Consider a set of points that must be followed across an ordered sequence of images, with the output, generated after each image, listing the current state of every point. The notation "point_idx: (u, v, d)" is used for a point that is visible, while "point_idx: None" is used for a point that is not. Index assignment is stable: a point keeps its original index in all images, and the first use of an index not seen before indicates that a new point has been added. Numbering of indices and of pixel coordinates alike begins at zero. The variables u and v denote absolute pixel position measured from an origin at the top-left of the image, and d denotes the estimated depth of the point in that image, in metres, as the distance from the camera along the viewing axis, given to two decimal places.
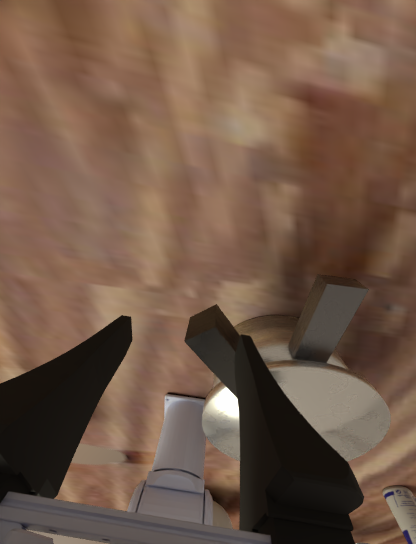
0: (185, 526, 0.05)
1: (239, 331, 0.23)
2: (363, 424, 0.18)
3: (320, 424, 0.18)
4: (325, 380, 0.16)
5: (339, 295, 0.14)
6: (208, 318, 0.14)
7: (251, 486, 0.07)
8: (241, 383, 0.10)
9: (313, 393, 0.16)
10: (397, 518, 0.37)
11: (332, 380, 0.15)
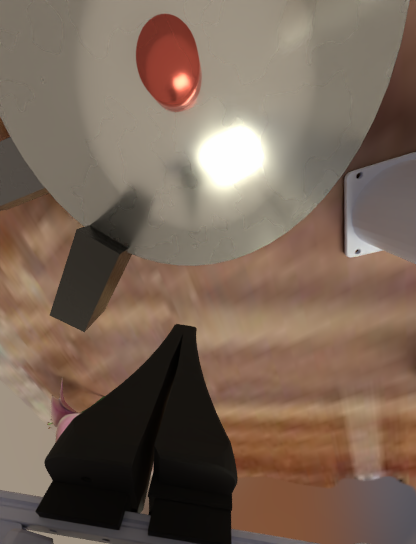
0: None
1: None
2: None
3: (112, 18, 0.08)
4: (25, 132, 0.10)
5: None
6: None
7: None
8: None
9: (58, 124, 0.09)
10: None
11: (16, 120, 0.09)
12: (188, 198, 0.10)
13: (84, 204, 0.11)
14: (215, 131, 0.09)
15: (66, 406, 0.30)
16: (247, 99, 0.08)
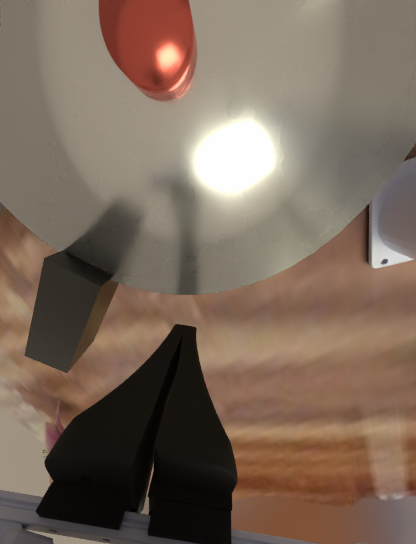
0: None
1: None
2: None
3: None
4: None
5: None
6: None
7: None
8: None
9: (11, 125, 0.07)
10: None
11: None
12: (185, 214, 0.08)
13: (55, 225, 0.09)
14: (218, 125, 0.07)
15: None
16: (261, 78, 0.06)
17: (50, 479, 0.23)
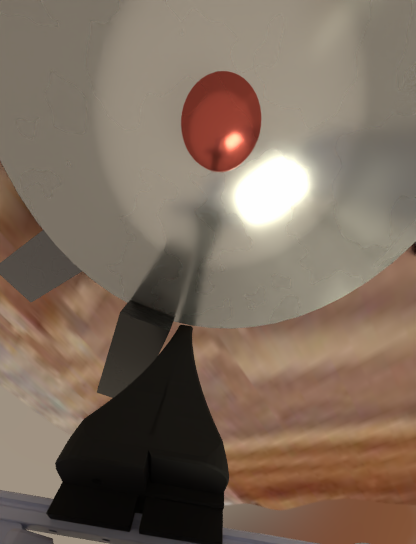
0: None
1: None
2: None
3: (142, 83, 0.06)
4: (54, 218, 0.09)
5: (23, 284, 0.13)
6: None
7: None
8: None
9: (89, 205, 0.08)
10: None
11: (43, 208, 0.08)
12: (242, 260, 0.09)
13: (124, 280, 0.10)
14: (274, 185, 0.07)
15: None
16: (315, 144, 0.07)
17: None
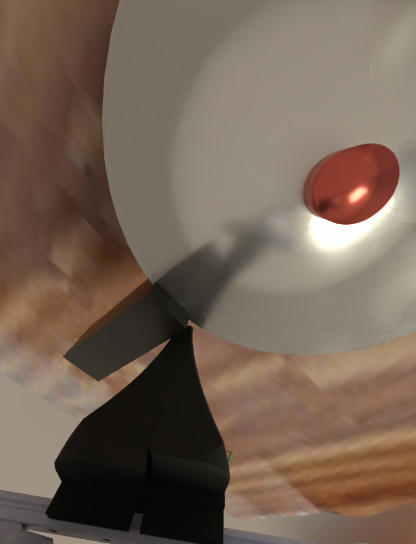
0: None
1: None
2: None
3: (304, 103, 0.06)
4: (127, 166, 0.07)
5: None
6: None
7: None
8: None
9: (176, 176, 0.07)
10: None
11: (122, 150, 0.07)
12: (282, 293, 0.09)
13: (162, 261, 0.09)
14: (347, 249, 0.08)
15: None
16: (394, 235, 0.08)
17: None
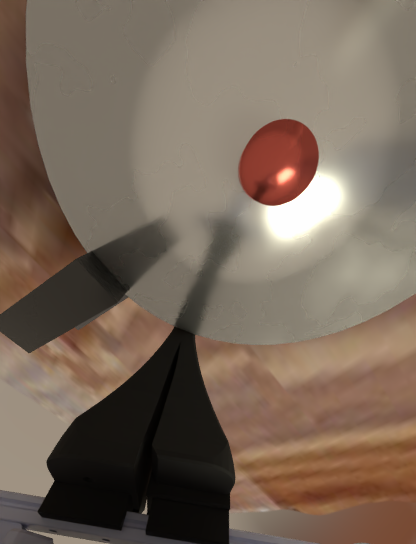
0: None
1: None
2: None
3: (237, 73, 0.06)
4: (56, 118, 0.07)
5: None
6: None
7: None
8: None
9: (108, 136, 0.07)
10: None
11: (50, 98, 0.07)
12: (220, 277, 0.09)
13: (97, 229, 0.09)
14: (281, 236, 0.08)
15: None
16: (326, 226, 0.08)
17: None
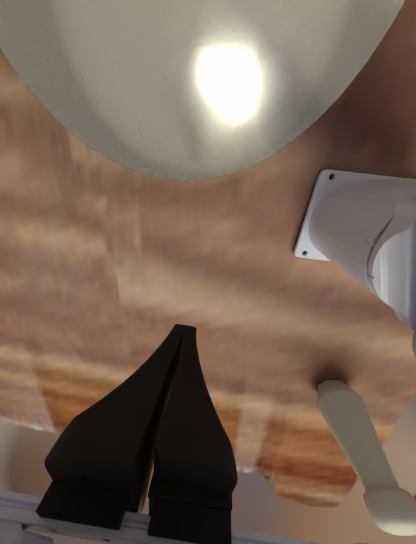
0: None
1: None
2: None
3: None
4: None
5: None
6: None
7: None
8: None
9: None
10: None
11: None
12: None
13: None
14: None
15: None
16: (192, 22, 0.08)
17: None
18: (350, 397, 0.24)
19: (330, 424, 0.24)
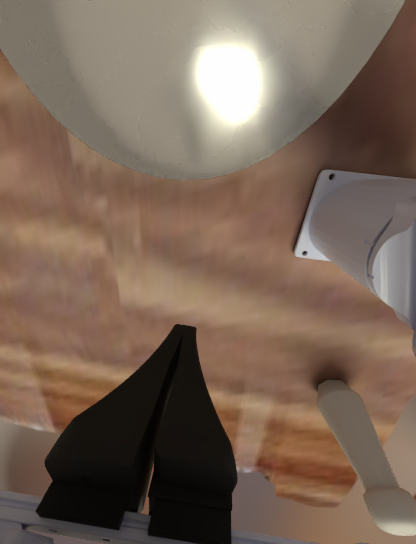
0: None
1: None
2: None
3: None
4: None
5: None
6: None
7: None
8: None
9: None
10: None
11: None
12: None
13: None
14: None
15: None
16: (192, 22, 0.08)
17: None
18: (350, 397, 0.24)
19: (330, 424, 0.24)
